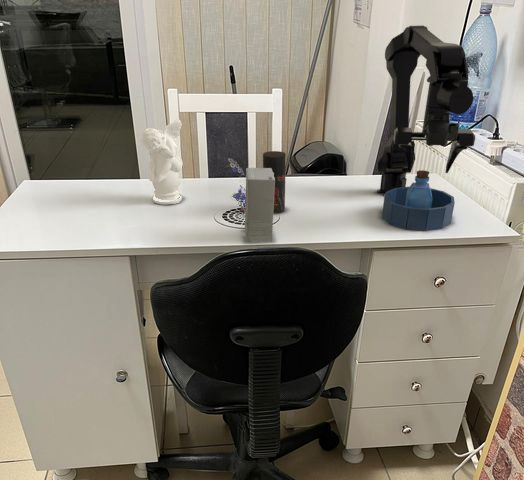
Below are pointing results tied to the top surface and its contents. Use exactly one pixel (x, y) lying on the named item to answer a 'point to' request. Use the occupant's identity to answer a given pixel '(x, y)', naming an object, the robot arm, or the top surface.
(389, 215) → the blue round bin
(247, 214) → the cosmetic box
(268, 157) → the deodorant
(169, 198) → the cherub figurine
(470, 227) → the top surface
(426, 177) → the perfume bottle
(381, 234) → the top surface
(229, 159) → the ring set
